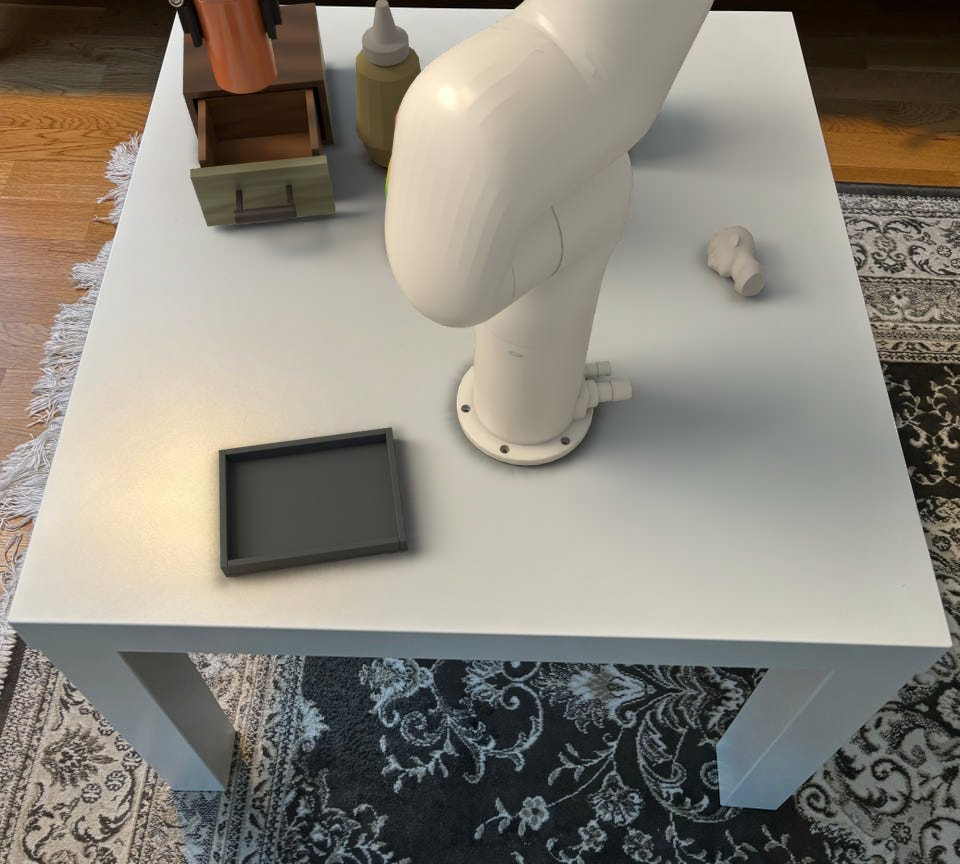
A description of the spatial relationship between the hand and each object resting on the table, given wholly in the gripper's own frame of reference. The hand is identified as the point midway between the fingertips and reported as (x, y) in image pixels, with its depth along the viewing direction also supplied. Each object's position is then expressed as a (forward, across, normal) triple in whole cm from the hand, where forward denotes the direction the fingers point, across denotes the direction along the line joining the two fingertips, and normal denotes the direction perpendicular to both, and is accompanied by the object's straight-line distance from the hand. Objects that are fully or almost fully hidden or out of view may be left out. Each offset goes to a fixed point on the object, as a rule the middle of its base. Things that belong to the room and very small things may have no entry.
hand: (235, 32), depth 81 cm
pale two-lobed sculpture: (+20, +46, -19) cm, 53 cm away
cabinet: (+18, 0, +13) cm, 22 cm away
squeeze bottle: (+19, +14, +4) cm, 24 cm away
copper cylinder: (+5, 0, 0) cm, 5 cm away
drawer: (+18, 0, -1) cm, 18 cm away
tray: (+19, +2, -39) cm, 44 cm away
